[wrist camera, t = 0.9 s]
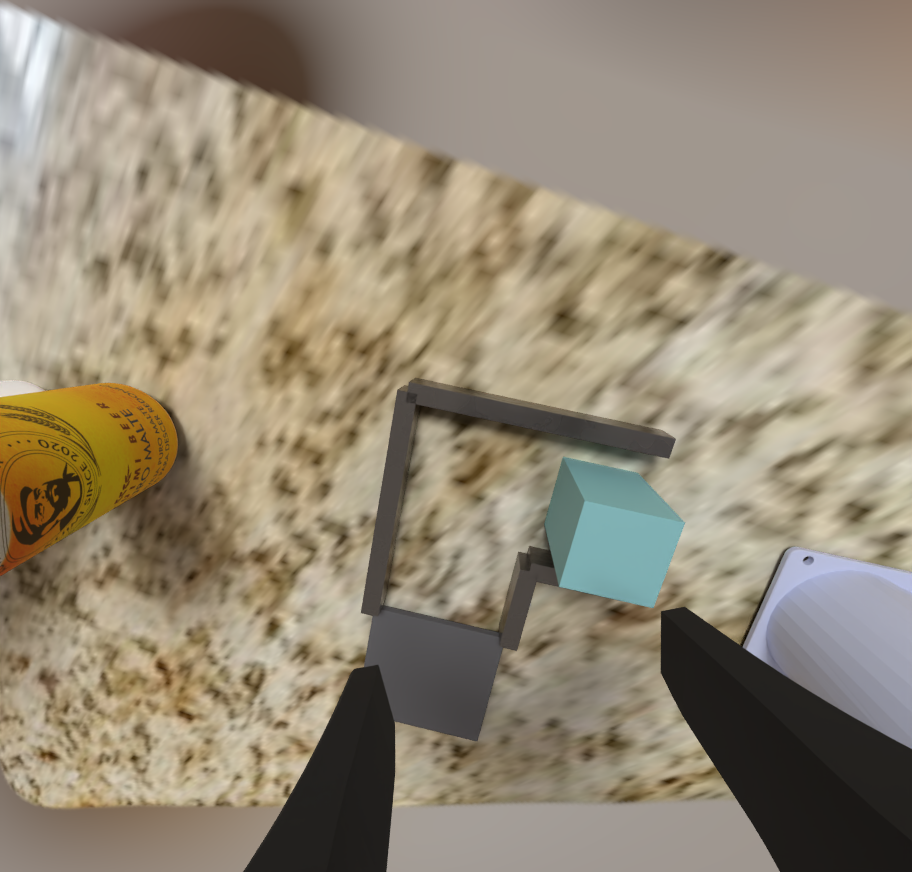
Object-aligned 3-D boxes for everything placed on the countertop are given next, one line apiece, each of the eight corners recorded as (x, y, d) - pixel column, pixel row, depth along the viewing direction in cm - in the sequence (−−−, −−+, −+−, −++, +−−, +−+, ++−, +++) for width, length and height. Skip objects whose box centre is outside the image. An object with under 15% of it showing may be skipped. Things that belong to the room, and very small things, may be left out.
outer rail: (660, 429, 22) (675, 438, 21) (588, 642, 26) (596, 668, 24) (407, 375, 23) (398, 379, 21) (370, 591, 27) (360, 613, 25)
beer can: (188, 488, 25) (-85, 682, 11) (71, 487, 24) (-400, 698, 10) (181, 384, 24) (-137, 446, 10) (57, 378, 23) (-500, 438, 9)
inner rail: (616, 564, 24) (626, 584, 23) (589, 643, 26) (596, 669, 24) (520, 542, 25) (522, 560, 23) (499, 622, 26) (499, 646, 24)
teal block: (637, 472, 23) (684, 522, 17) (615, 539, 24) (653, 608, 18) (563, 456, 23) (584, 500, 17) (544, 523, 24) (558, 586, 18)
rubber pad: (505, 633, 26) (505, 638, 26) (477, 735, 28) (477, 741, 28) (375, 603, 26) (374, 607, 26) (358, 706, 28) (356, 711, 28)
